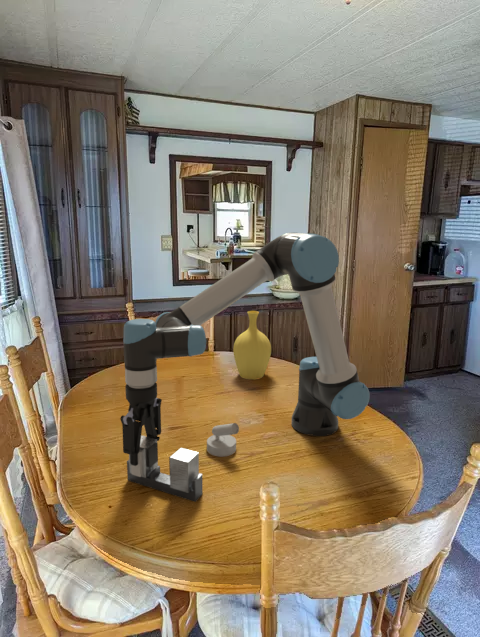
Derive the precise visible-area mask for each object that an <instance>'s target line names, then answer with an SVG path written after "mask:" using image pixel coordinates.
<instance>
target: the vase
mask: <svg viewBox="0 0 480 637" xmlns="http://www.w3.org/2000/svg"><path fill="white" fill-rule="evenodd" d="M259 314H260V312H259V311H257V310H248V311H247V315H248V316H247V317H248V318H249V325H248V328H247V329H246V330H245V331H243V332H242V333H241V334H239V335H238V336H237V337H236V339H235V340H234V343H233V347H232V348H233V349H232V350H233V358H234V361H235V365H236V369H237V372H238V374H239V376H240V377H241V378H243V379H246V380H260V379H262V378H263V377H264V376H265V373H266V371H267V368H268V365H269V362H270V359H271V354H272V343H271V341H270V340H269V338H268V337H267V335H265V333H264V332H262V331H260V330H259V329H258V326H257V318H258V316H259Z"/></svg>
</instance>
